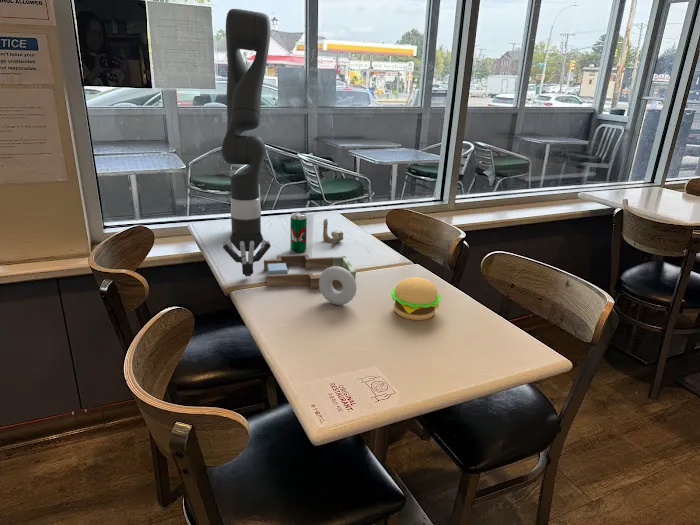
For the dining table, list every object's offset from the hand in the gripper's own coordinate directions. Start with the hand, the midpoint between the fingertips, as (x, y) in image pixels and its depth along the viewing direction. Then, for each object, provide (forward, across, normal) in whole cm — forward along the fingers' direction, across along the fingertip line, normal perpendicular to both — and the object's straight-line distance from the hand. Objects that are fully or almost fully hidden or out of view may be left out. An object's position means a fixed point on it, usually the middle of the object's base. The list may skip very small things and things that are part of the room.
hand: (247, 275), depth 135 cm
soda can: (+1, -17, -20) cm, 27 cm away
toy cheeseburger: (+1, -39, +25) cm, 46 cm away
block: (+1, -8, 0) cm, 8 cm away
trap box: (+1, -17, 0) cm, 17 cm away
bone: (+1, -30, -26) cm, 40 cm away
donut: (+1, -21, +18) cm, 28 cm away
